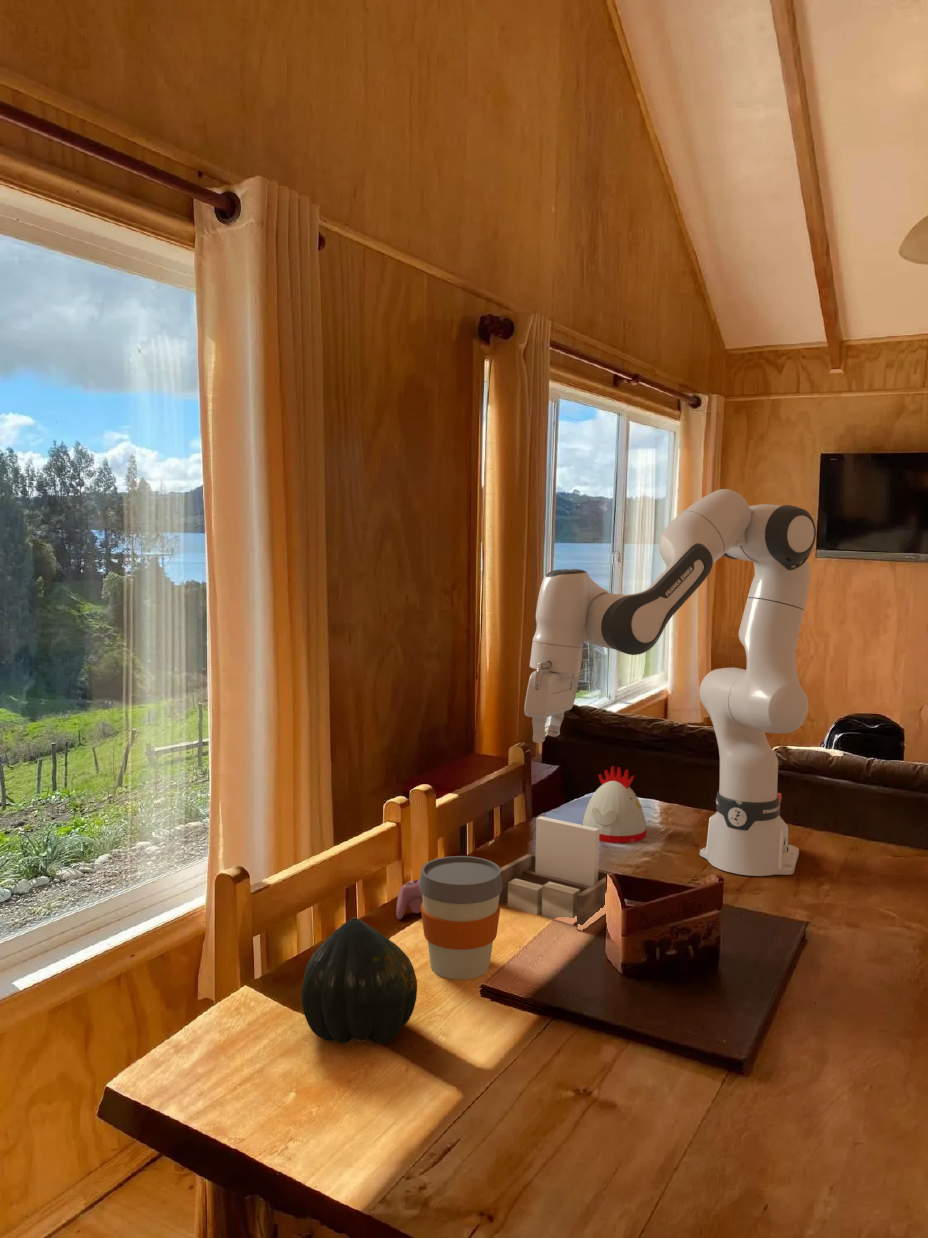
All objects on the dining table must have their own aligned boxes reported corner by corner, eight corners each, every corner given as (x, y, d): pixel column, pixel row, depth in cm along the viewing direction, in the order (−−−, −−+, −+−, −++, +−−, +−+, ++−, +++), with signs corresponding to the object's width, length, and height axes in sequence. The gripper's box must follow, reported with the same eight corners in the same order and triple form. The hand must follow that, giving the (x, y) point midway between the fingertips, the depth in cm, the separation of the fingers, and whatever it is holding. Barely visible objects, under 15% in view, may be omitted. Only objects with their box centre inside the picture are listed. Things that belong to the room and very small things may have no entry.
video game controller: (454, 923, 158) (456, 881, 161) (451, 921, 154) (454, 878, 157) (397, 920, 159) (401, 879, 162) (393, 918, 155) (397, 876, 158)
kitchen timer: (630, 847, 194) (632, 778, 193) (572, 835, 201) (573, 768, 200) (655, 830, 205) (657, 764, 204) (598, 820, 213) (600, 756, 212)
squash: (376, 1040, 108) (407, 916, 117) (266, 1021, 114) (304, 903, 122) (414, 1069, 119) (440, 953, 128) (312, 1050, 124) (344, 940, 133)
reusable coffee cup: (513, 957, 142) (515, 863, 141) (481, 993, 131) (482, 891, 130) (441, 941, 148) (442, 850, 146) (403, 974, 136) (404, 876, 135)
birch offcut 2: (548, 912, 160) (549, 881, 159) (579, 921, 156) (580, 889, 156) (541, 916, 158) (542, 885, 157) (572, 925, 154) (573, 894, 154)
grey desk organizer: (530, 883, 173) (530, 852, 172) (617, 906, 162) (618, 873, 162) (491, 905, 162) (492, 872, 162) (582, 931, 152) (582, 896, 151)
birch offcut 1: (514, 902, 164) (515, 878, 164) (543, 911, 160) (544, 886, 160) (507, 907, 162) (508, 882, 162) (536, 915, 158) (537, 890, 158)
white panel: (539, 890, 170) (540, 816, 169) (597, 905, 163) (599, 828, 162) (534, 892, 168) (536, 818, 167) (593, 908, 162) (595, 831, 160)
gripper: (557, 665, 149) (547, 749, 150) (586, 661, 168) (577, 735, 169) (520, 660, 152) (510, 742, 152) (553, 656, 171) (544, 730, 171)
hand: (545, 739), depth 161 cm, fingers open, 8 cm apart
